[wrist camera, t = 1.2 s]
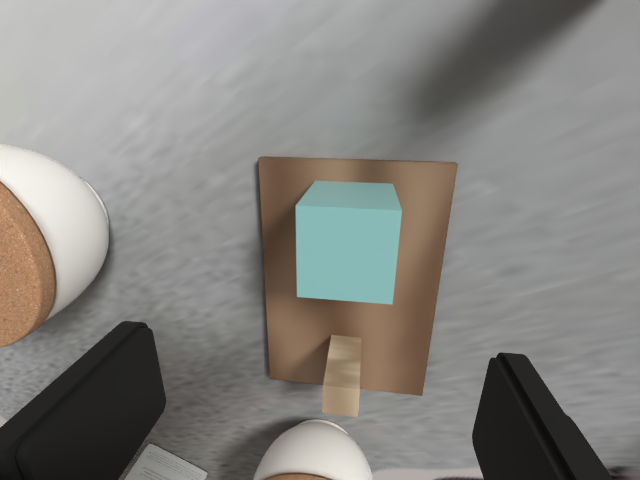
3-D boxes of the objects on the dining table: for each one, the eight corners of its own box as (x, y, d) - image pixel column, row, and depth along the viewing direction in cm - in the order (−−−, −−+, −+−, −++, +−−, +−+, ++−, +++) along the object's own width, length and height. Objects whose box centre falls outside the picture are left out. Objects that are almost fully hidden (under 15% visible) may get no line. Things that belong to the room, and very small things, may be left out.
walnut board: (454, 162, 22) (457, 164, 21) (420, 388, 29) (422, 395, 28) (261, 156, 24) (258, 158, 23) (272, 372, 30) (270, 378, 30)
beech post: (361, 337, 27) (359, 389, 22) (359, 362, 28) (357, 417, 23) (331, 334, 27) (323, 385, 22) (330, 359, 28) (322, 412, 23)
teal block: (392, 183, 22) (402, 210, 16) (386, 255, 24) (392, 304, 18) (315, 180, 23) (295, 205, 17) (314, 251, 25) (297, 296, 19)
